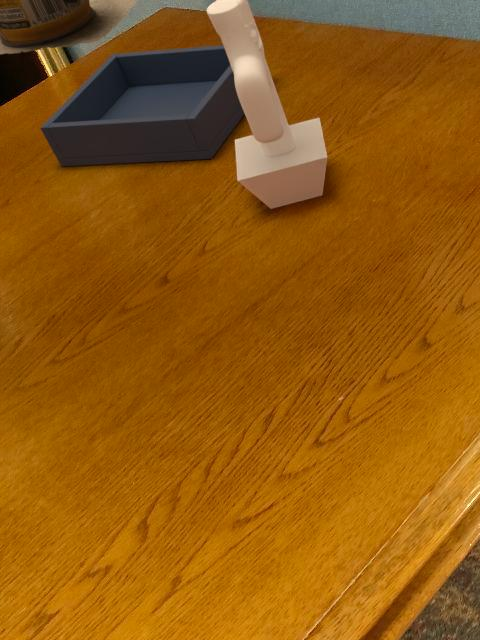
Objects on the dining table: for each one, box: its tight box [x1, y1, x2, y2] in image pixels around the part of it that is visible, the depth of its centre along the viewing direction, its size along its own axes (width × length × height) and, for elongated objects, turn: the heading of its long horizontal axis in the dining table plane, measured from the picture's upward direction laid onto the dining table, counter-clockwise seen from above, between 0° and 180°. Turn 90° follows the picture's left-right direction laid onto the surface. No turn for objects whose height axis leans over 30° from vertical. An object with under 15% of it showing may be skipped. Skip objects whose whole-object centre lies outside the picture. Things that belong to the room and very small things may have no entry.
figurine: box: [206, 0, 328, 210], centre depth 78 cm, size 7×9×15 cm
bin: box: [39, 44, 245, 167], centre depth 94 cm, size 16×15×4 cm
